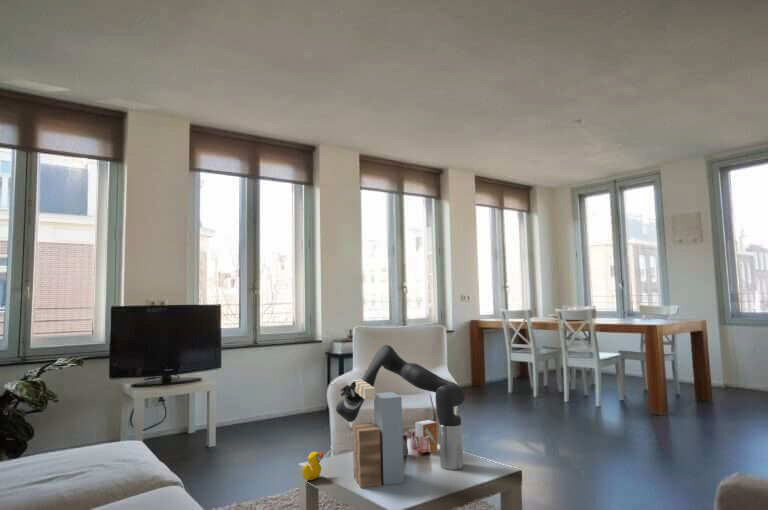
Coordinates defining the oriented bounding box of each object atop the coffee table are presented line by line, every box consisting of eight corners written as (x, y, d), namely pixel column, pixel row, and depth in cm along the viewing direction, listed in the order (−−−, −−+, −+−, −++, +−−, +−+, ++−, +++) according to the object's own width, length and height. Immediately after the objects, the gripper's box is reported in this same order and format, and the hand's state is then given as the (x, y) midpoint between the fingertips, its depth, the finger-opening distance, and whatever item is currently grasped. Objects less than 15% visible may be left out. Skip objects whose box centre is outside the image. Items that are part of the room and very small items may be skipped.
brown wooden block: (353, 477, 198) (352, 424, 200) (373, 475, 200) (372, 422, 202) (360, 488, 186) (359, 431, 188) (381, 485, 188) (379, 429, 190)
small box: (424, 454, 226) (423, 424, 227) (415, 451, 231) (414, 422, 232) (437, 451, 230) (436, 422, 232) (429, 447, 236) (428, 419, 237)
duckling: (316, 473, 204) (316, 447, 205) (327, 475, 201) (327, 449, 202) (298, 482, 194) (298, 455, 195) (309, 484, 192) (309, 457, 193)
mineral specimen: (390, 451, 230) (393, 433, 230) (408, 456, 227) (411, 438, 227) (385, 455, 223) (389, 437, 223) (403, 460, 220) (407, 442, 220)
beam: (352, 389, 209) (352, 380, 209) (362, 389, 210) (362, 379, 210) (364, 399, 188) (364, 388, 188) (375, 398, 189) (374, 387, 189)
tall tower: (375, 474, 200) (373, 393, 203) (394, 472, 202) (392, 391, 205) (383, 485, 188) (381, 398, 192) (403, 482, 191) (401, 396, 194)
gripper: (336, 390, 218) (342, 375, 205) (367, 388, 222) (375, 373, 209) (338, 407, 214) (344, 393, 201) (370, 405, 218) (378, 390, 204)
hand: (360, 383), depth 205 cm, fingers closed on beam, 4 cm apart
